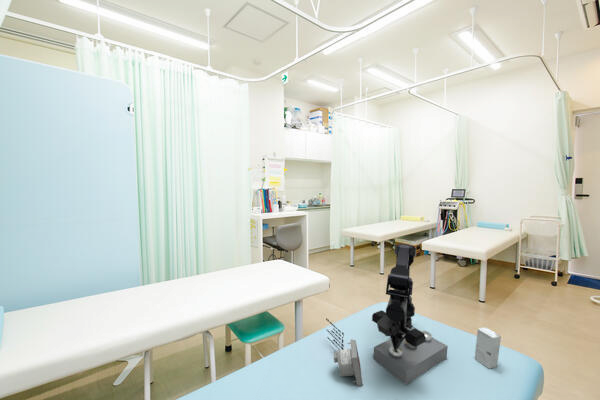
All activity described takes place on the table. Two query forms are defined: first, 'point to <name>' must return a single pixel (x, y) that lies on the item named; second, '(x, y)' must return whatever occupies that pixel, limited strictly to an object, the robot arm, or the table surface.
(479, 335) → the skincare box
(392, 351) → the near button
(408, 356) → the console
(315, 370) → the table surface
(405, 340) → the middle button
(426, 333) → the far button
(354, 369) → the grey ridged piece
